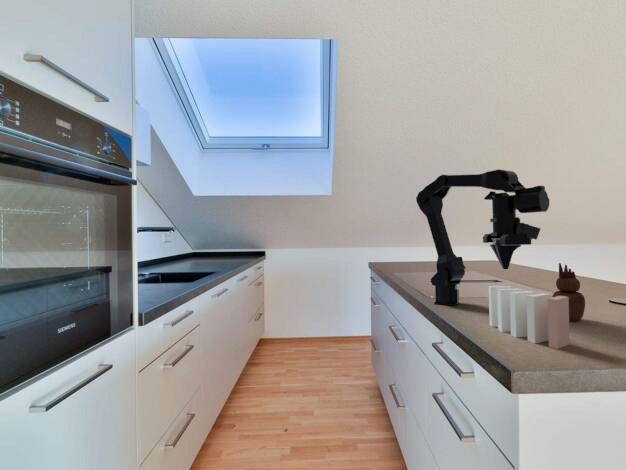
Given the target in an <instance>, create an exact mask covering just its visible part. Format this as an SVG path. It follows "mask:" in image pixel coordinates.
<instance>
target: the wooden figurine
mask: <svg viewBox="0 0 626 470" xmlns="http://www.w3.org/2000/svg"><path fill="white" fill-rule="evenodd" d="M555 285H556V289H557V291H555V292H554V293H552V297H556V296H566V297H569V322H576V321H580V320H582V318H583V316H584V315H585V313H584V312H585V310H586V299H585V296H584V294H583V293H581V292H579V290H580V288H581V282H580V280H579V279H578V278H577V277H576V274H575V271H573V270H572V268H568V265H567V264H564V269H563V267H562V264H561V263H560V262H559V263H558V278H557V279H556V281H555ZM552 297H551V298H552Z"/></svg>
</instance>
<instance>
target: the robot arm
mask: <svg viewBox="0 0 626 470" xmlns="http://www.w3.org/2000/svg"><path fill="white" fill-rule="evenodd" d="M453 187H455V188H456V187H457V188H462V187H463V188H473V187H474V188H484V189H487V190H493V191H489V193H488V194H487V195H485V196H484V200H485V201H486V200H487V201H492V202H491V203H492V204H491V205H492V206H491V207H492V208H491V209H492V210H491V211H492V218H490V221H489V222H490V223H492V232H490V233H485V234H484V235H483V236H482V243H484V244H488V243H489V246H490V248H491V249H492V251H493V253H494V254H495V256H496V258H497V260H498V262H499V264H500V266H501V268H502V269H503V270H508V269H509V268H510V264H511V260H512V257H513V255H514V252H515V251H516V250H517V249H518V248H521V247H522V245H529V246H531V245H532V240H536V241H537V239H538V237H539V235H540V232H541V228H540V227H537V226H533V225H530V224H529V223H525V222H521V218H520V217H519V216H517V211H518V212H519V214H531V213H544V212H547V211H548V210H549V207H550V198H549V196H548V193H547V191H546V187H545V185H536V186H533V187H525V186H524V185H523V184H522V183H521V182H520V181H519V177H518V174H517V173H516V172H514V171H513V170H507V169H506V170H505V169H495V170H489V171H486V172H483V173H479V174H441V175H439V176H438V177H437V178H435V179H434V180H433V181H432V182H431V183H429V184H428V185H426V186H425V187H424V188H423V189H422V190H420V191H419V192H418V194H417V196H416V200H415V201H416V203H417V206H418V208H419V211H421V212H422V214H424V216H425V217H426V219H427V222H428V226H429V229H430V233H431V237H432V239H433V240H432V241H433V243H434V247H435V251H436V253H437V259H436V266H435V267H436V273H435V274H434V275H433V276H432V277H431V278H430V283H431V285H432V286H434V288H435V292H434V293H435V301H434V302H433V303H434V304H435V305H443V306H445V305H446V306H456V305H457V304H458V303H460V290H459V288H458V285H460V284H461V281H462V279H463V278H464V276H465V274H466V269H467V268H466V266H465V265H464V260H463V257H462V256H457V255H456V254H455V253H454V251H453V247H452V244H451V241H450V238H449V234H448V231H447V227H446V225H445V222H444V218H443V215H442V212H443V211H442V210H443V206H444V203H443V199H444V198H446V196H447V195H448V193H449V191H450V189H451V188H453ZM496 191H502V192H499V193H497V192H496ZM509 193H513V194H511V195H510V194H509ZM490 243H492V244H490Z"/></svg>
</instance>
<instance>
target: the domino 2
mask: <svg viewBox="0 0 626 470" xmlns="http://www.w3.org/2000/svg"><path fill="white" fill-rule="evenodd" d="M519 291H523V289H521V288H513V289H497V302H498V327H497V330H498V331H499V332H501V333H511V322H510V292H519Z"/></svg>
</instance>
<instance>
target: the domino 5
mask: <svg viewBox="0 0 626 470" xmlns="http://www.w3.org/2000/svg"><path fill="white" fill-rule="evenodd" d="M548 336H549V341H548V348H552V349H556V350H560V349H562V348H564V347H566V346H567V347H568V346H570V344H571V343H570V341H571V340H570V321H569V297H566V296H556V297H550V298H548Z"/></svg>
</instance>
